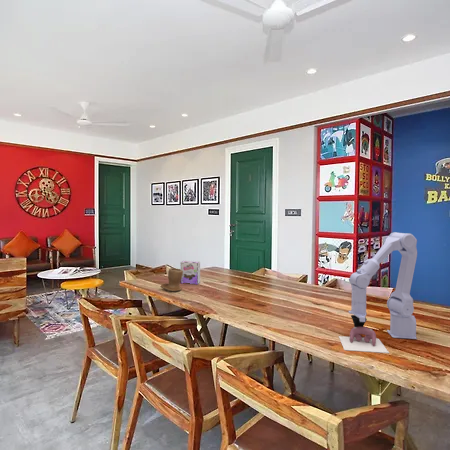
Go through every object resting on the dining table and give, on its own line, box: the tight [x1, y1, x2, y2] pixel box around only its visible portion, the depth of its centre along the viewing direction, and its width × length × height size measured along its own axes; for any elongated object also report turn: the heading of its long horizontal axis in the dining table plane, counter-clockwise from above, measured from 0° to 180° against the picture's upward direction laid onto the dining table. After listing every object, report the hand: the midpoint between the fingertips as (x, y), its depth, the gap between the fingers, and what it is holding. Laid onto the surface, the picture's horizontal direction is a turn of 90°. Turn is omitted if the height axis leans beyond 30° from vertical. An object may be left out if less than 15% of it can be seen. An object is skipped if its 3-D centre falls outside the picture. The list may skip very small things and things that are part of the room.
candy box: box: [180, 260, 201, 285], centre depth 246 cm, size 14×6×16 cm, turn 73°
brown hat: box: [160, 267, 183, 292], centre depth 225 cm, size 15×12×15 cm
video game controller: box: [349, 326, 377, 346], centre depth 134 cm, size 10×5×7 cm, turn 65°
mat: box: [338, 335, 390, 354], centre depth 132 cm, size 16×14×1 cm
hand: (358, 333), depth 139 cm, fingers closed
